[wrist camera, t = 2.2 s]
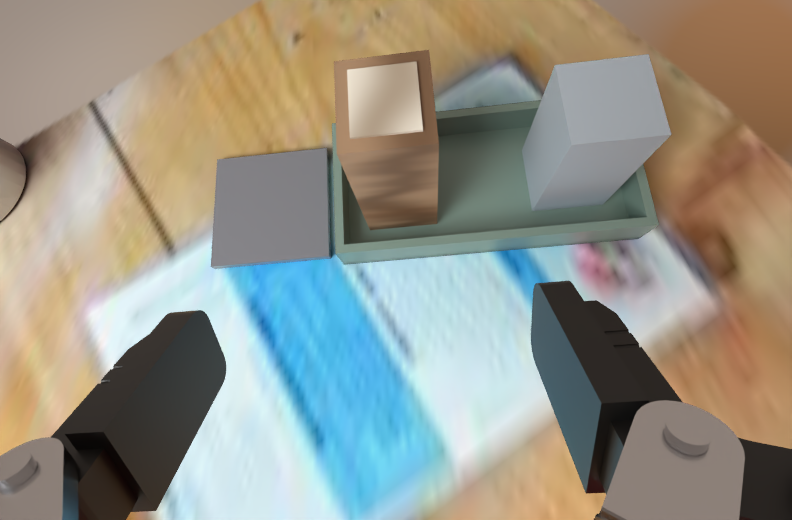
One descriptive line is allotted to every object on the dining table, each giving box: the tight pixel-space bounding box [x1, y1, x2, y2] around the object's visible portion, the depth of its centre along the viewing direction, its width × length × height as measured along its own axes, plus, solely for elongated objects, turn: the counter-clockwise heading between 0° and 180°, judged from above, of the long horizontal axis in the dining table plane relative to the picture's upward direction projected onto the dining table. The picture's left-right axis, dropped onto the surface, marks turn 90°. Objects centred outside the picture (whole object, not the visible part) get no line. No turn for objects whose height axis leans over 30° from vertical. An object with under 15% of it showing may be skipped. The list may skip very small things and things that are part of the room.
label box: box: [334, 50, 439, 230], centre depth 26 cm, size 5×6×11 cm
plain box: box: [522, 54, 671, 211], centre depth 26 cm, size 5×5×9 cm
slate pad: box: [211, 148, 331, 269], centre depth 32 cm, size 9×9×1 cm
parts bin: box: [332, 100, 659, 264], centre depth 30 cm, size 21×10×3 cm, turn 94°
